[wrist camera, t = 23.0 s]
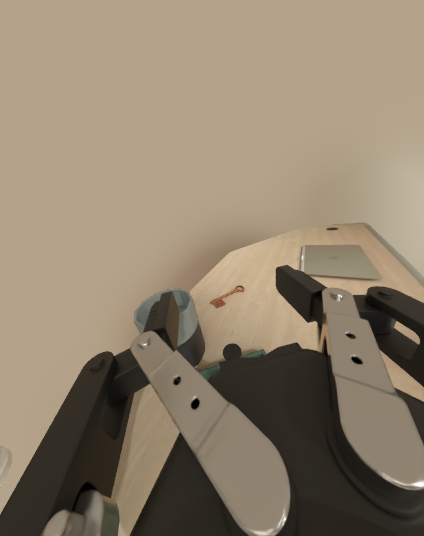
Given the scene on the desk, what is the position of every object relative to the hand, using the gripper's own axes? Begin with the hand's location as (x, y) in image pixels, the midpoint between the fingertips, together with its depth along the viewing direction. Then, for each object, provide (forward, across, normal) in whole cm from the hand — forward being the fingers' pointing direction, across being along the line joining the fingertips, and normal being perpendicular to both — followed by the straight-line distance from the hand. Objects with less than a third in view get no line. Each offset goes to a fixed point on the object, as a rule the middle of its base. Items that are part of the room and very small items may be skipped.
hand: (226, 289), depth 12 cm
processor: (+20, +12, +30) cm, 38 cm away
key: (+39, -6, +30) cm, 49 cm away
